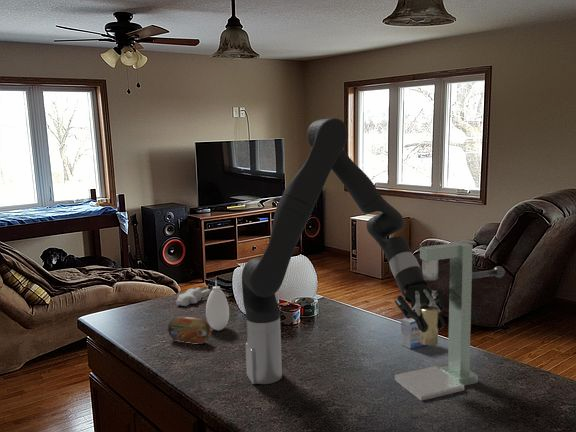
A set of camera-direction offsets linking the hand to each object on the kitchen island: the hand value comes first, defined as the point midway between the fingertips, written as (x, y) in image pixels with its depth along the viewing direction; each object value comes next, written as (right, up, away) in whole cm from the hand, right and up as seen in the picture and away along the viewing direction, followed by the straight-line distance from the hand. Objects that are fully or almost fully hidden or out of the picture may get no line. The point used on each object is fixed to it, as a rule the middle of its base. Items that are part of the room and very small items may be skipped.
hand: (433, 329), depth 131 cm
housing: (-1, -4, +2) cm, 5 cm away
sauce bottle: (-61, -11, +48) cm, 79 cm away
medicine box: (+3, -12, +30) cm, 33 cm away
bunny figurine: (-76, -7, +80) cm, 111 cm away
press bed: (+8, -15, +7) cm, 18 cm away
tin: (-69, -13, +38) cm, 80 cm away
